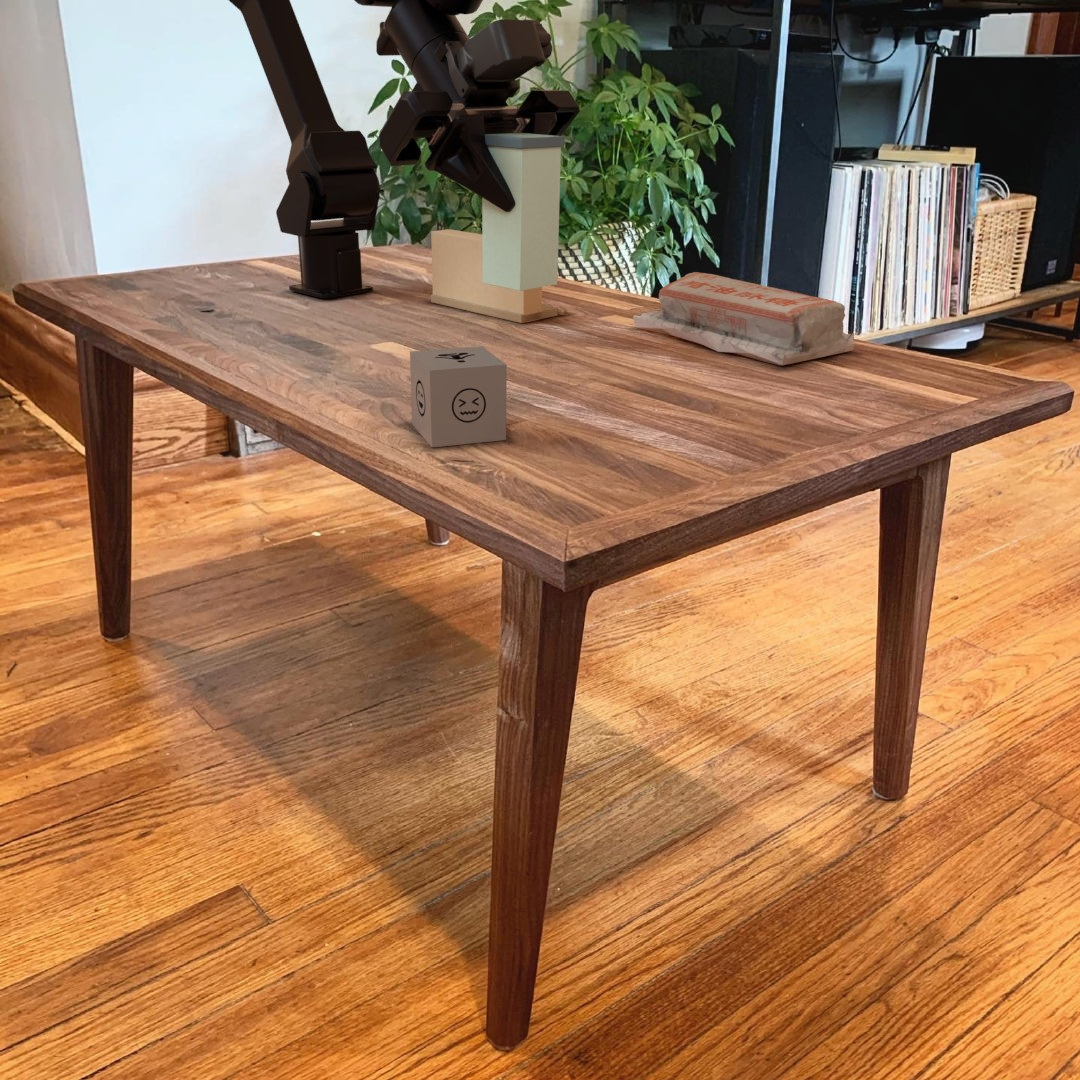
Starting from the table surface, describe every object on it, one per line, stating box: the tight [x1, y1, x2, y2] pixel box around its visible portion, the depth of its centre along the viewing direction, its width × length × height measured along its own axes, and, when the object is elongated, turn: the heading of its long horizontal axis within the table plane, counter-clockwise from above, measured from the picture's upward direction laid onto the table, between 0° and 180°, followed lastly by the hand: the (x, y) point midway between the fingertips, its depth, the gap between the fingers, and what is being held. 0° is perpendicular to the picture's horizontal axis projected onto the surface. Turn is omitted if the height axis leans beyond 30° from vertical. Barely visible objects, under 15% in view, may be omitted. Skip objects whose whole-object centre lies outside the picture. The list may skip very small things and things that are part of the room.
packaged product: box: [632, 271, 855, 366], centre depth 96 cm, size 18×5×10 cm
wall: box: [430, 228, 559, 324], centre depth 106 cm, size 13×5×7 cm, turn 46°
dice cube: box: [409, 346, 508, 448], centre depth 70 cm, size 5×5×5 cm
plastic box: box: [481, 133, 566, 291], centre depth 90 cm, size 5×5×12 cm
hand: (532, 206), depth 89 cm, fingers closed on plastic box, 4 cm apart
